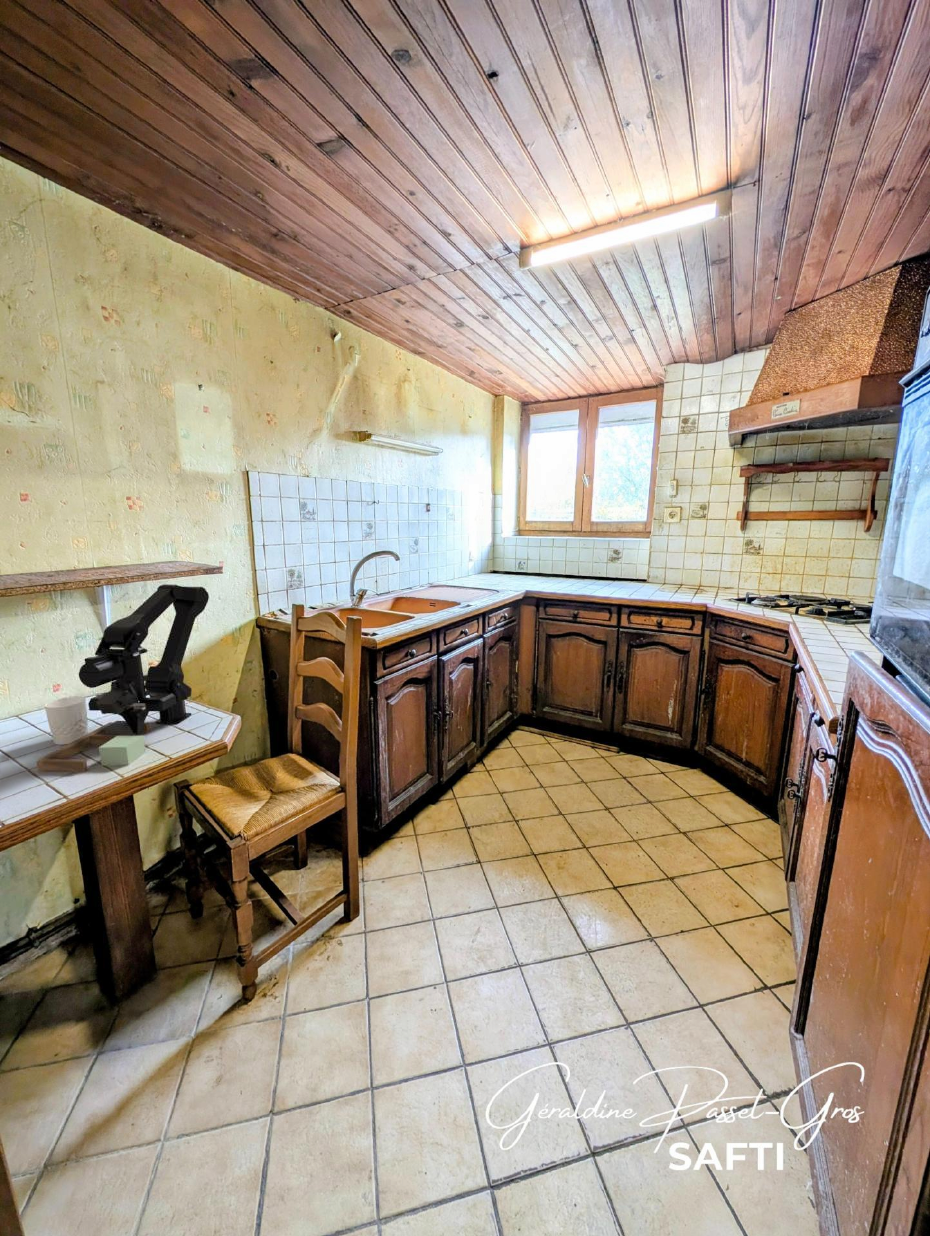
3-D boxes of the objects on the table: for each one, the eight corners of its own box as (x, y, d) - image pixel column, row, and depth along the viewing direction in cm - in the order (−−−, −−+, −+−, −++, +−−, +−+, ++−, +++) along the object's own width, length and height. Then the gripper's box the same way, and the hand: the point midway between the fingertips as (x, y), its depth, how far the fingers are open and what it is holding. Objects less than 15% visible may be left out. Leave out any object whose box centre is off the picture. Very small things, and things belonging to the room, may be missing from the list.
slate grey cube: (118, 735, 122) (116, 720, 121) (133, 735, 122) (131, 720, 121) (106, 742, 118) (104, 727, 117) (122, 742, 118) (120, 727, 117)
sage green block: (119, 753, 112) (117, 735, 111) (145, 753, 112) (143, 735, 112) (101, 766, 106) (98, 747, 106) (128, 765, 107) (126, 747, 106)
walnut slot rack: (111, 730, 125) (109, 722, 124) (149, 731, 124) (148, 722, 124) (37, 771, 104) (36, 761, 103) (84, 771, 104) (82, 761, 103)
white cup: (86, 730, 125) (80, 693, 123) (95, 738, 120) (89, 700, 118) (47, 740, 119) (41, 702, 117) (55, 749, 114) (48, 710, 112)
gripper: (64, 684, 109) (74, 747, 112) (142, 685, 109) (151, 749, 112) (102, 670, 120) (111, 728, 123) (173, 671, 120) (180, 729, 123)
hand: (137, 733), depth 120 cm, fingers closed
